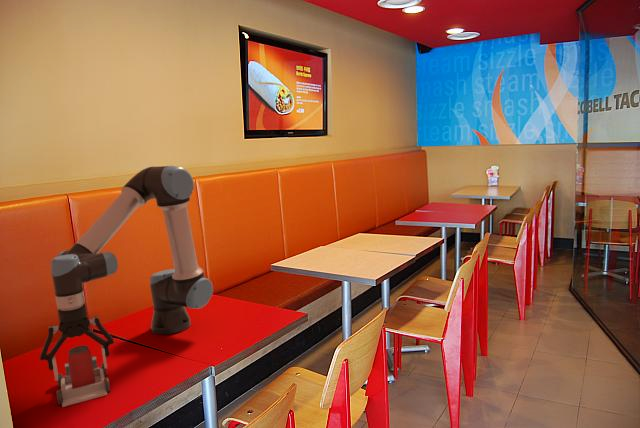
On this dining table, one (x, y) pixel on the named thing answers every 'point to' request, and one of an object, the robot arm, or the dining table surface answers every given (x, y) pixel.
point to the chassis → (85, 392)
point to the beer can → (81, 366)
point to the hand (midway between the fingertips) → (81, 372)
